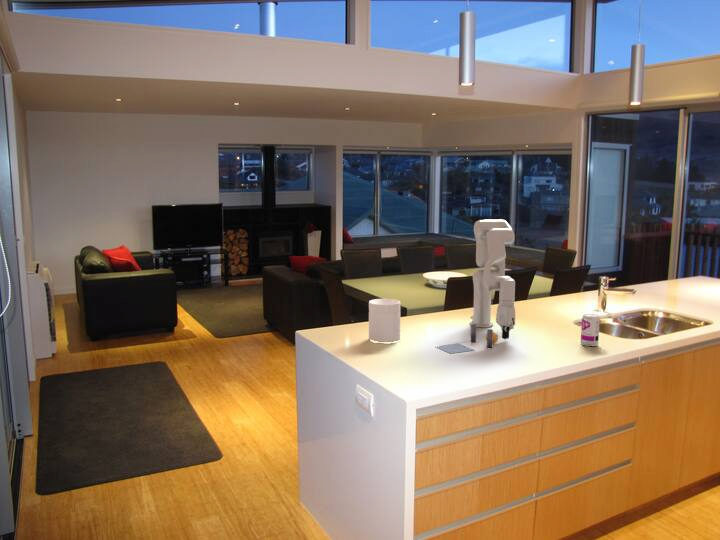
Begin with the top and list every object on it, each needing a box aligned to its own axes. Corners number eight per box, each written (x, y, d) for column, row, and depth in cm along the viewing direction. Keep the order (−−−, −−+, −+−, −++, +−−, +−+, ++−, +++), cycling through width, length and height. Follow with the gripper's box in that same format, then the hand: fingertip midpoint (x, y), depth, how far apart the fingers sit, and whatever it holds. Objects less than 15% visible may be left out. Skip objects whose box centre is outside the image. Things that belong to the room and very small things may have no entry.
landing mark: (434, 346, 309) (434, 346, 309) (458, 343, 315) (458, 343, 315) (450, 353, 297) (450, 353, 297) (474, 350, 303) (474, 349, 303)
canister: (373, 345, 312) (374, 305, 309) (365, 337, 327) (365, 299, 324) (404, 343, 316) (404, 303, 313) (394, 335, 331) (394, 298, 328)
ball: (487, 328, 316) (493, 336, 319) (481, 337, 314) (486, 345, 317) (496, 330, 311) (502, 338, 314) (490, 339, 309) (495, 347, 312)
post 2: (485, 347, 308) (486, 329, 306) (489, 346, 309) (490, 329, 307) (488, 348, 305) (489, 330, 304) (493, 348, 306) (493, 330, 305)
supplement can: (587, 347, 308) (588, 317, 305) (577, 343, 315) (578, 314, 313) (601, 346, 310) (603, 316, 308) (591, 342, 318) (592, 313, 315)
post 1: (469, 341, 319) (470, 324, 318) (473, 340, 320) (474, 323, 319) (472, 342, 317) (473, 325, 316) (476, 341, 318) (477, 324, 317)
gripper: (491, 301, 322) (490, 336, 324) (510, 306, 308) (509, 342, 311) (503, 299, 325) (501, 334, 327) (522, 305, 312) (521, 341, 314)
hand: (505, 338), depth 319 cm, fingers closed
